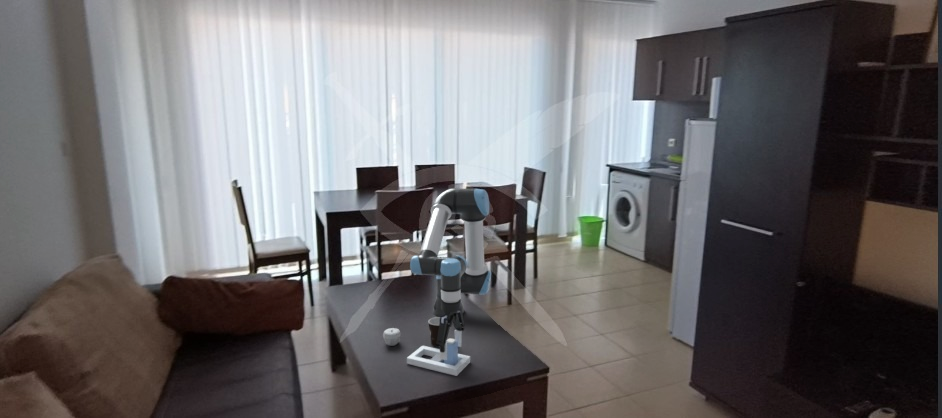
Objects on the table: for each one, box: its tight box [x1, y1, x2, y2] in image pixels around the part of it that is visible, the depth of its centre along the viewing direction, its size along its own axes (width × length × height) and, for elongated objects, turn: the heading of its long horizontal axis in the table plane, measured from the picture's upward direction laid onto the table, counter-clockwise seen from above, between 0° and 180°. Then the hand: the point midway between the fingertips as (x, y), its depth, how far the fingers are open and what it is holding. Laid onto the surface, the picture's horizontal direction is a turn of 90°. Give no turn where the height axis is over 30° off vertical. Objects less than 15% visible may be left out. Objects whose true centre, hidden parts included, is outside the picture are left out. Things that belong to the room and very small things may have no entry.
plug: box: [444, 338, 459, 366], centre depth 203 cm, size 4×4×11 cm
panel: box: [406, 345, 471, 377], centre depth 206 cm, size 12×22×2 cm, turn 65°
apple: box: [382, 327, 402, 347], centre depth 221 cm, size 8×8×7 cm
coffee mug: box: [427, 316, 448, 347], centre depth 224 cm, size 12×9×10 cm
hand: (451, 352), depth 202 cm, fingers open, 11 cm apart
